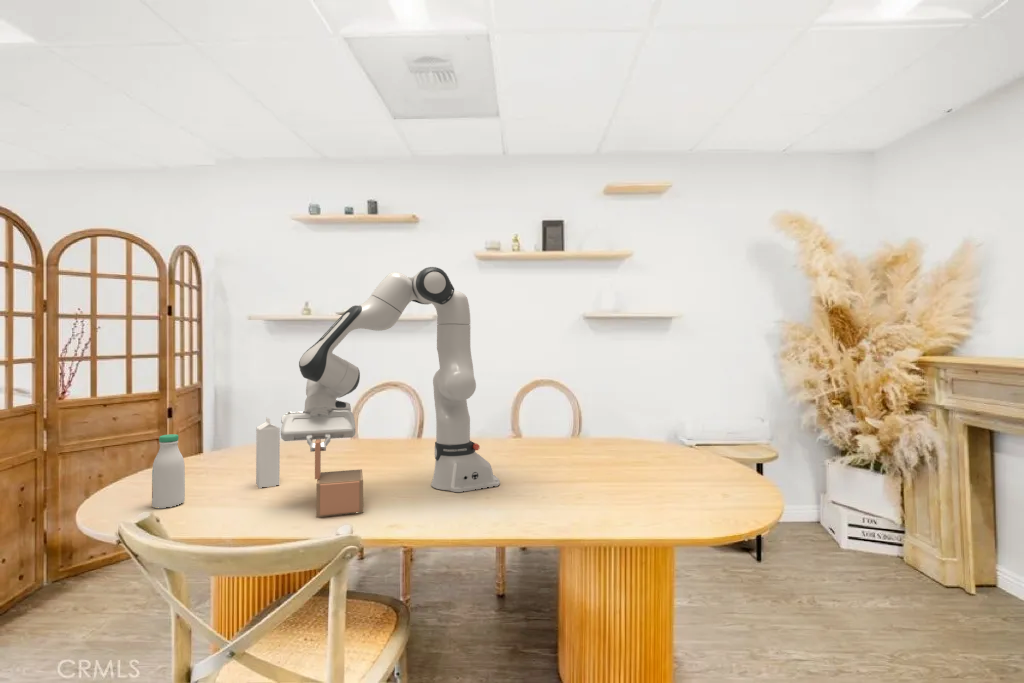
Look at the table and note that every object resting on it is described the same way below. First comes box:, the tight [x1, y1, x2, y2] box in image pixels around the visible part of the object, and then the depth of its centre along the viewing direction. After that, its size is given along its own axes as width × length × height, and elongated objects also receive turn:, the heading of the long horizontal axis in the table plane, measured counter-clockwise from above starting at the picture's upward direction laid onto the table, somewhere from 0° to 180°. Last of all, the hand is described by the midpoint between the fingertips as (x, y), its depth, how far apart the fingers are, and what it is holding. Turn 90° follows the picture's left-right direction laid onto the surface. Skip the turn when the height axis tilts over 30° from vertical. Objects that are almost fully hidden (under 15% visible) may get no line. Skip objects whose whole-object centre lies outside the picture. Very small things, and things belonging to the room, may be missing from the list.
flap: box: [314, 439, 322, 480], centre depth 138 cm, size 1×5×10 cm, turn 18°
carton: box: [315, 468, 364, 518], centre depth 139 cm, size 12×13×9 cm
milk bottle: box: [151, 433, 186, 509], centre depth 142 cm, size 8×8×20 cm
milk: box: [255, 416, 281, 489], centre depth 162 cm, size 6×6×22 cm
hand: (318, 450), depth 139 cm, fingers closed on flap
